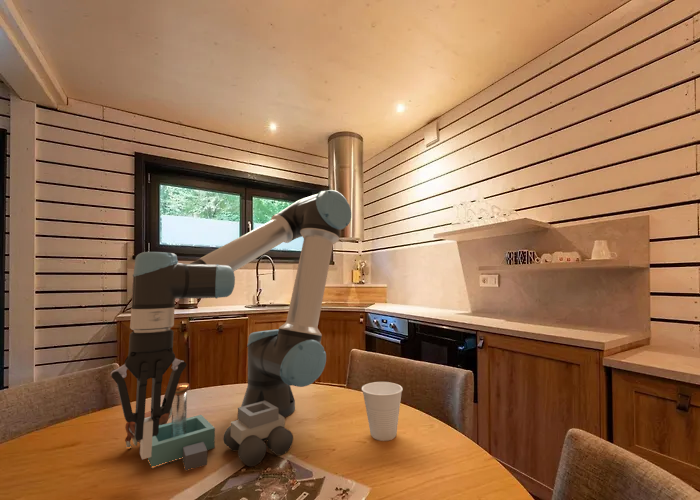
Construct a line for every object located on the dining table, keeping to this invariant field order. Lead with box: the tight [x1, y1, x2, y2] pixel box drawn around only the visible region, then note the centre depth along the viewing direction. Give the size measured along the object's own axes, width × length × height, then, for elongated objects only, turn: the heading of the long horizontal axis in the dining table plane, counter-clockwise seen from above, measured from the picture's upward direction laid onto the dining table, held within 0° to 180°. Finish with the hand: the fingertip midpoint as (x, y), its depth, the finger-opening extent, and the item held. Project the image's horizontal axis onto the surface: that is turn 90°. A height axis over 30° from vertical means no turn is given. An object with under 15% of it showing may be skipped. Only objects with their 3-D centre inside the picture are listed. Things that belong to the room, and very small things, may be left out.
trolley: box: [223, 401, 294, 467], centre depth 73 cm, size 11×11×9 cm
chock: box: [182, 442, 208, 471], centre depth 69 cm, size 4×4×3 cm
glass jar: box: [171, 382, 190, 438], centre depth 75 cm, size 4×4×13 cm
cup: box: [361, 381, 404, 442], centre depth 79 cm, size 10×10×11 cm
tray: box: [147, 414, 216, 468], centre depth 75 cm, size 10×12×4 cm
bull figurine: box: [124, 403, 172, 448], centre depth 79 cm, size 4×13×8 cm, turn 153°
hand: (145, 455), depth 63 cm, fingers closed
